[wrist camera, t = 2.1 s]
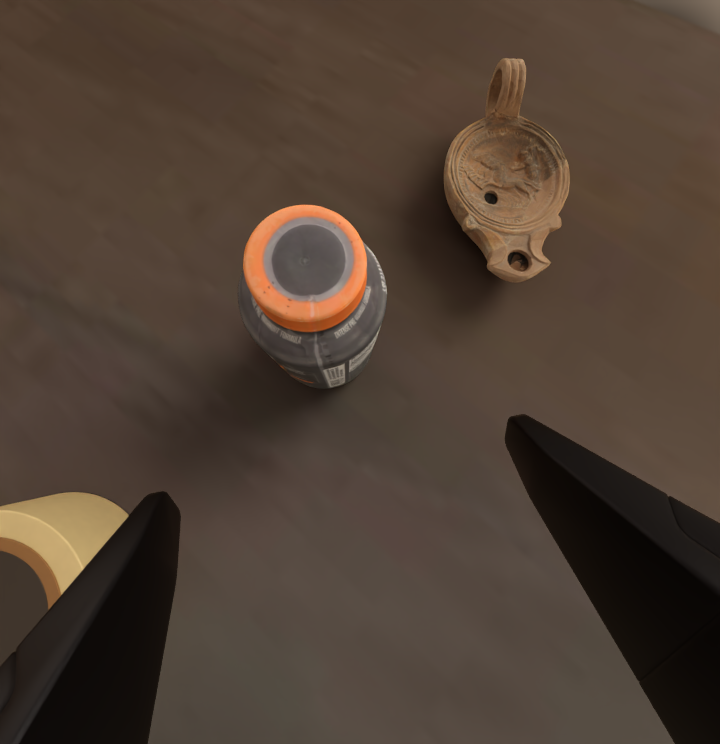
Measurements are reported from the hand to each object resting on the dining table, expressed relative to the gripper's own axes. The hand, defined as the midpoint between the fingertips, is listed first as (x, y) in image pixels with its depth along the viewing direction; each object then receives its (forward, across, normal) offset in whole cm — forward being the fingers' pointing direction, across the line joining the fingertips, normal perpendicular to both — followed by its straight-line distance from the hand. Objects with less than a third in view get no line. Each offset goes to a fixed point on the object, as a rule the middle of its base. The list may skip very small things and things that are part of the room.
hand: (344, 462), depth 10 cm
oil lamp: (+19, -13, -1) cm, 22 cm away
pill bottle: (+13, 0, +4) cm, 14 cm away
